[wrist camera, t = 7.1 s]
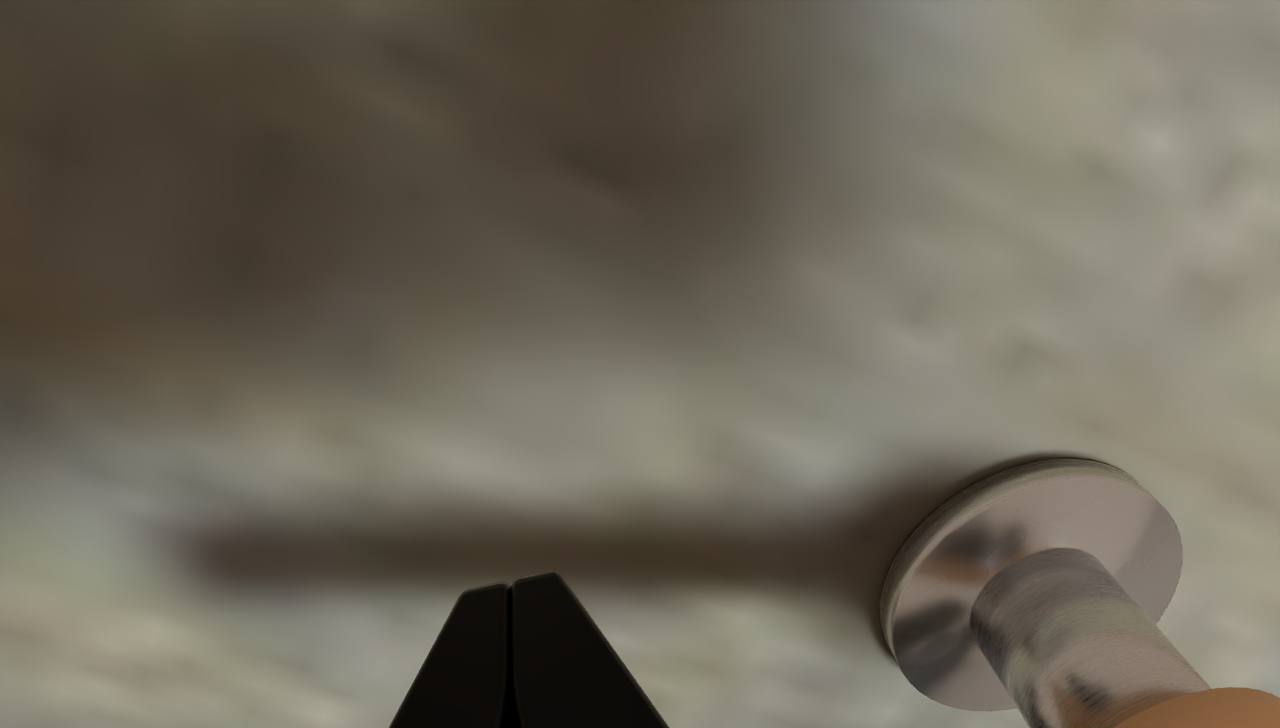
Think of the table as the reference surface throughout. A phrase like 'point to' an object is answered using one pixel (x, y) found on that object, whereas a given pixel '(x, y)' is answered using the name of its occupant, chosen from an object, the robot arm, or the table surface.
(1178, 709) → the lever
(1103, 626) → the post
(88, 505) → the table surface
